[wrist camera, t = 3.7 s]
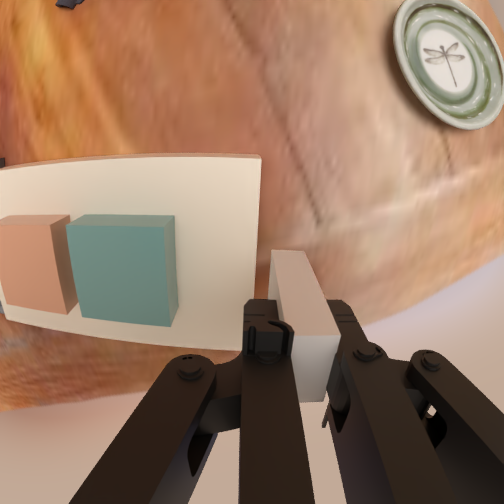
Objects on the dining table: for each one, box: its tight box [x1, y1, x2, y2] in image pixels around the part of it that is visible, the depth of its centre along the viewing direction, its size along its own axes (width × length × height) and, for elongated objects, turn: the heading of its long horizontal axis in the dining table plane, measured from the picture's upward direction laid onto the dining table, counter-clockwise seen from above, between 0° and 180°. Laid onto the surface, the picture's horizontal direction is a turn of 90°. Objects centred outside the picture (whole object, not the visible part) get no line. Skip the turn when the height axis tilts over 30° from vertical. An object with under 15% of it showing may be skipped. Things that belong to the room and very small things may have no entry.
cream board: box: [0, 153, 262, 351], centre depth 17 cm, size 18×11×4 cm, turn 87°
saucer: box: [393, 0, 504, 130], centre depth 14 cm, size 10×10×2 cm
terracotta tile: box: [0, 214, 79, 315], centre depth 14 cm, size 5×5×2 cm
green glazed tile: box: [66, 214, 179, 327], centre depth 14 cm, size 5×5×2 cm
